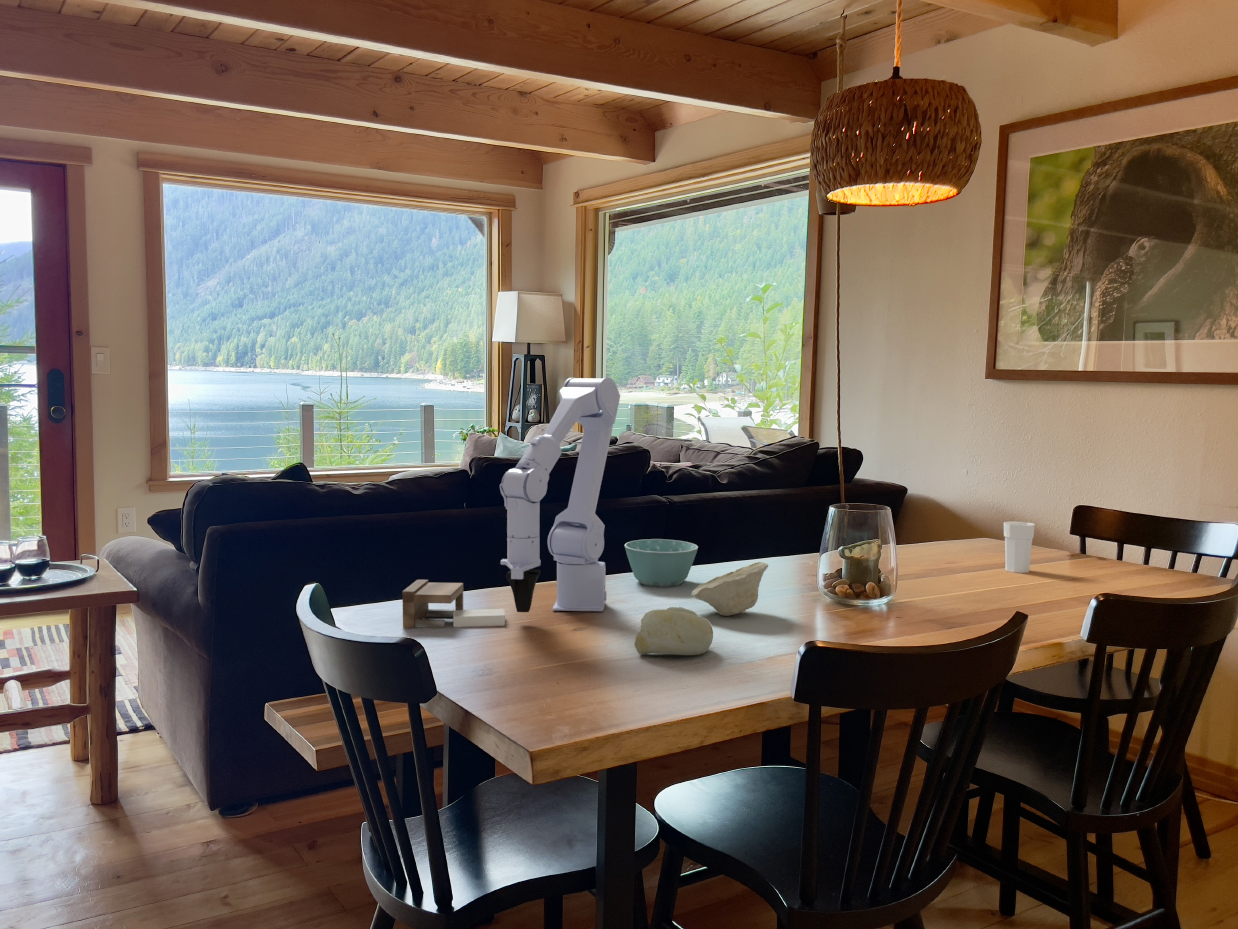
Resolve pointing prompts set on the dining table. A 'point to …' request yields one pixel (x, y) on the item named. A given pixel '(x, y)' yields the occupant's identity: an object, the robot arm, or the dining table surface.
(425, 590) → the shelf
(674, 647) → the smooth beige rock
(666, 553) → the bowl
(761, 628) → the dining table surface
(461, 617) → the tile
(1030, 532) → the cup
